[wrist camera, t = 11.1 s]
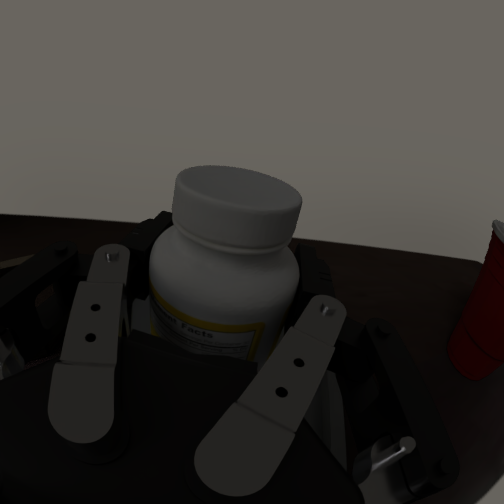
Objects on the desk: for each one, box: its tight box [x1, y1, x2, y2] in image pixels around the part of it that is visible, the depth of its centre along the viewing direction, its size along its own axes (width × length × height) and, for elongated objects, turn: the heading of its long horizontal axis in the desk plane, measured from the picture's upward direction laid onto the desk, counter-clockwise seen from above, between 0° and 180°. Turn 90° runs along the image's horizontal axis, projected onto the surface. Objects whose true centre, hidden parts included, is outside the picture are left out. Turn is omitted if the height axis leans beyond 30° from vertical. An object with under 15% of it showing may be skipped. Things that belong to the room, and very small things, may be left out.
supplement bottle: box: [149, 165, 302, 372], centre depth 11 cm, size 5×5×10 cm
